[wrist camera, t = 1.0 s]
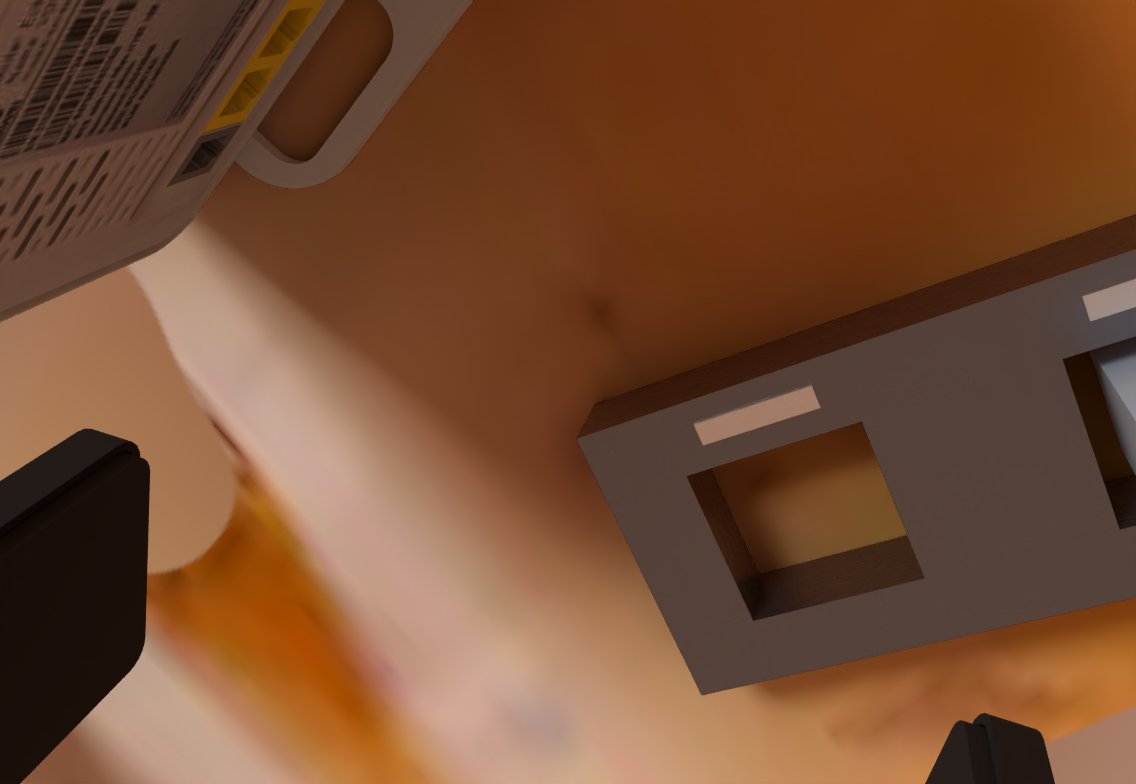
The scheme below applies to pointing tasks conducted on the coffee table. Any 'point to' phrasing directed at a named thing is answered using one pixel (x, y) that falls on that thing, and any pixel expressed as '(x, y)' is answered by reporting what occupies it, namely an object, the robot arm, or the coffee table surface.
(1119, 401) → the plug
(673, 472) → the panel
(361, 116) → the network device
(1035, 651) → the coffee table surface
